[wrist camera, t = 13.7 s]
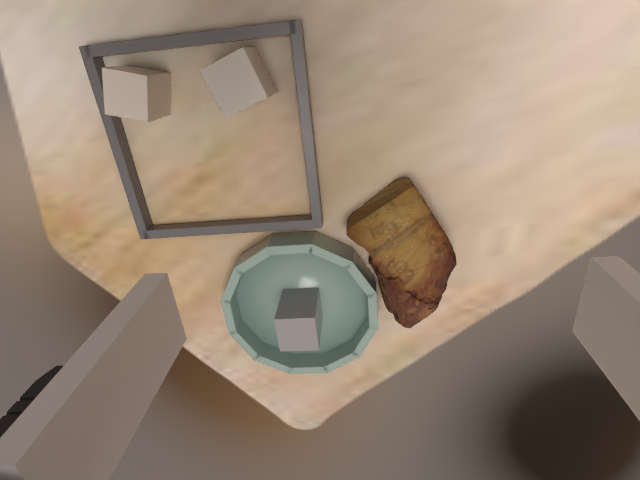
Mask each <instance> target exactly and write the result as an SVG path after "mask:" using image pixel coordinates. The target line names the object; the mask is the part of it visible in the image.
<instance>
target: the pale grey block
mask: <svg viewBox="0 0 640 480" xmlns="http://www.w3.org/2000/svg"><path fill="white" fill-rule="evenodd" d="M199 72H200V74H201V75H202V77H203V79H204V81H205V83H206V85H207V86H208V88H209V90H210V92H211V94H212V96H213V97H214V99H215V101H216V103H217V105H218V107H219V108H220V110H221V112H222V114H223V116H224V118H225V119H226V118H228V117H230V116H232V115H234V114H236V113H238V112H240V111H242V110H244V109H246V108H248V107H250V106H252V105H254V104H256V103H258V102H260V101H262V100H264V99H266V98H268V97H269V96H271V95H273V94H275V93H276V92H277V90H276V88H275V86H274V84H273V82H272V80H271V78H270V76H269V74H268V72H267V70H266V67H265V65H264V63H263V61H262V59H261V57H260V55H259V53H258V51H257V49H256V47H242V48H240V49H238V50H236V51H234V52H233V53H231V54H229V55H227V56H225V57H224V58H222V59H220V60H218V61H216V62H215V63H213V64H211V65H209V66H207V67H206V68H204V69H202V70H200V71H199Z"/></svg>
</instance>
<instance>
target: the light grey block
mask: <svg viewBox="0 0 640 480" xmlns="http://www.w3.org/2000/svg"><path fill="white" fill-rule="evenodd" d="M102 79H103V94H104V108H105V114H106V115H112V116H117V117H122V118H128V119H133V120H138V121H144V122H150V121H153V120H156V119H159V118H162V117H164V116H167V115H170V73H168V72H162V71H157V70H152V69H146V68H141V67H135V66H116V67H102Z"/></svg>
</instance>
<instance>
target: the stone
mask: <svg viewBox="0 0 640 480" xmlns="http://www.w3.org/2000/svg"><path fill="white" fill-rule="evenodd" d="M347 236H348V237H349V238H351V239H352V240H353V241H354V242H356V243H357V244H358V245H360V246H362V247H364V248H365V249H366V250H367V251H368V253H369V254H370V258H369V264H370V265H371V266H372V268H373V269H374V271H375V273H376V275H377V277H378V283H379V287H380V289H381V293H382V297H383V300H384V303H385V306H386V308H387V309H388V311H389V312H391V313H393V314H394V318H395V320H396V321H397V322H398V323H399V324H401V325H402V326H404V327H406V328H411V327H413V326H414V325H416V324H417V323H419V322H420V321H421V320H423V319H425V318H426V317H428V316H429V315H430V314H431V313H433V312H434V311H435V310H436V309H437V307H438V305H439V302H440V300H441V298H442V294H443V293H444V291H445V290H446V286H447V281H448V278H449V276H450V274H451V272H452V270H453V269H454V267H455V266H456V256H455V253H454V251H453V247H452V245H451V243H450V241H449V239H448V237H447V236H446V234H445V232H444V231H443V229H442V228H441V226H440V225H439V223H438V221H437V220H436V218H435V217H434V215H433V214H432V212H431V211H430V209H429V207H428V206H427V204H426V203H425V201H424V200H423V198H422V196H421V195H420V193H419V192H418V190H417V189H416V187H415V186H414V184H413V183H412V181H411V180H410V178H400V179H397V180H395V181H393V182H392V183H391V184H389V185H388V186H387V187H385V188H384V189H383V190H381V191H380V192H379V193H378V194H377V195H376V196H374V197H373V198H372V199H371V200H370V201H368V202H367V203H365V204H364V205H363V206H362V207H361V208H360V209H358V210H357V211H356V212H354V213H352V214H351V216H350V217H349V219H348V222H347Z"/></svg>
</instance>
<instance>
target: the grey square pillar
mask: <svg viewBox="0 0 640 480" xmlns="http://www.w3.org/2000/svg"><path fill="white" fill-rule="evenodd" d="M322 319H323V317H322V308H321V299H320V291H319V287H315V288H293V289H283V290H282V294H281V297H280V301H279V304H278V308H277V311H276V314H275V318H274V321H275V327H276V333H277V338H278V344H279V349H280V351H315V350H319V346H320V337H321V328H322Z"/></svg>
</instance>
